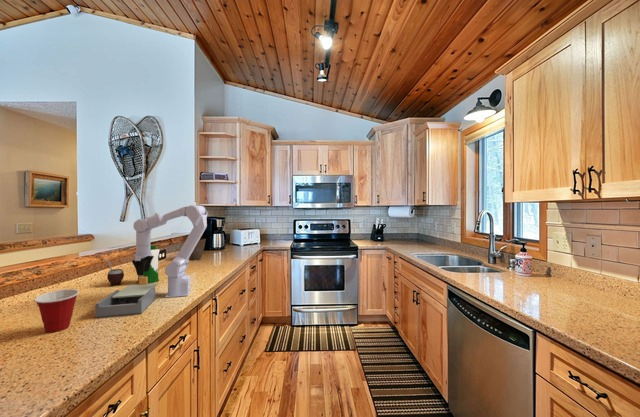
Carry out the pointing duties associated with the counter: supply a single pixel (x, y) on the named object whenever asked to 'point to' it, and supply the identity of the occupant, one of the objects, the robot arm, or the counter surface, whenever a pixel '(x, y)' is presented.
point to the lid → (136, 289)
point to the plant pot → (198, 250)
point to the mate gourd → (115, 276)
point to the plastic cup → (56, 309)
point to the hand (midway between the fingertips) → (143, 273)
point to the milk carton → (152, 267)
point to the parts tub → (123, 305)
